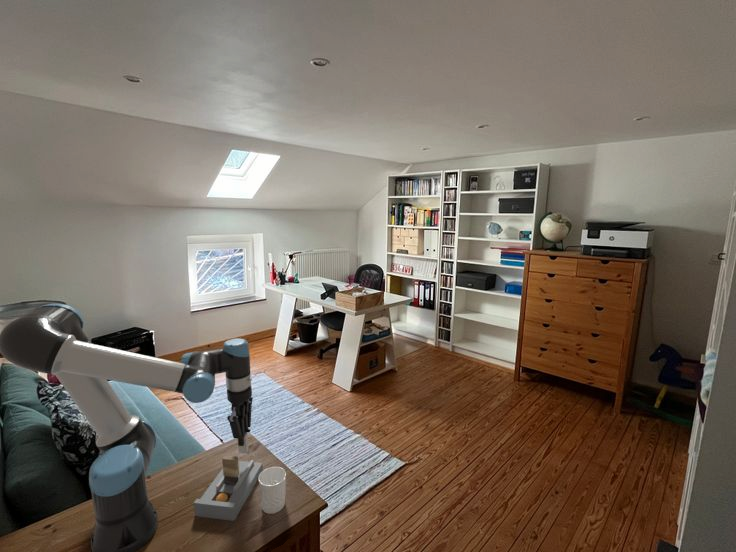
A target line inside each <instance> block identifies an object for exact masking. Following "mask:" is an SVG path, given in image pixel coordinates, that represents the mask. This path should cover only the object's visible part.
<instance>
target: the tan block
mask: <svg viewBox="0 0 736 552" xmlns="http://www.w3.org/2000/svg"><path fill="white" fill-rule="evenodd" d="M221 460H222V469H223V476H224V483H225V484H232V485H236V483H237V482H238V480H239V479H238V475H239V462H238V461H239V456H236V455H235V456H234V455H224V456H223V457H222V459H221Z"/></svg>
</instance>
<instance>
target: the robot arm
mask: <svg viewBox="0 0 736 552" xmlns="http://www.w3.org/2000/svg"><path fill="white" fill-rule="evenodd" d="M83 328H84V318H83V316H82V315H81V313H80V312H79V311H78V310H77V309H76V308H74V307H72V306H70V305H68V304H63V303H56V302H55V303H47V304H44V305H41V306H38V307H36V308H34V309H30V311H28V312H27V313H25V314H23V315H22V316H20V317H18V318H16V319H14V320H13V321H10V322H9V323H8V324H7V325H5V327H4V328H3V329H2V330H1V331H0V354H1V355H2V357H3V358H4V359H5V360H6V361H8V362H9V363H11V364H13V365H14V366H17V367H19V368H23V369H26V370H29V371H32V372H37V373H41V374H48V375H53V376H56V378H57V380H58V381H59V382H60V384H61V385H62V387H63V388H64V389H65V391H66V392H67V394H68V395H69V397H70V398H71V399H72V400H73V402H74V404H75V405H76V406H77V408H78V409H79V410H80V412H81V414H82V415H83V416H84V417H85V419H86V420H87V422H88V423H89V425H90V426H91V427H92V429H93V430H94V432H95V433H96V434H97V436H98V437H97V439H96V441H95V445H96V447H97V448H98V450H99V451H100V452H101V455H99V456H97V458H96V459H95V460H94V461H93V462H92V464H91V465H90V467H89V473H88V485H89V488H90V493H91V499H92V505H93V511H94V516H95V523H94V527H93V531H92V535H91V538H90V548H91V552H136V551H138V550H139V549H140V548H142V547H143V546H144V545H146V544H147V543H148V542H149V541H150V539H151V538H152V537H154V534H155V533H156V531H157V529H158V526H159V518H158V512H157V510H156V509H155V508H154V506H153V504H152V503H151V501H150V500H149V497H148V489H147V482H146V481H147V480H146V475H147V473H148V468H149V467H150V464H151V463H150V462H151V461H152V457H153V453H154V450H155V447H156V444H157V443H156V442H157V434H156V433H157V432H156V430H155V427H154V426H153V425H152V424H150V422H148V421H146V420H145V421H143V420H141V418H140V417H139V416H138V415H135V414H134V415H133V414H132V415H131V414H130V413H129V412H128V410H127V408H126V407H125V405H124V404H123V402H122V401H121V399H120V398H119V396H118V395H117V393H116V392H115V390H114V389H113V387H112V385H111V384H110V383H109V381H113V382H117V383H118V382H119V383H123V384H128V385H129V384H130V385H136V386H140V387H146V388H152V389H155V390H163V391H167V392H174V393H177V394H182V395H183V397H184V399H186V400H187V401H188V402H190V403H192V404H199V403H204V402H205V401H207V400H208V399H209V398H210V397H211V396H212V395H213V393H214V389H215V387H216V376H215V375H218V374H223V373H225V386H226V398H227V401H228V402H229V403H230V404H231V409H230V410H231V414H230V415H227V421H228V422H229V426H230V429H231V433H232V438H233V439H237V445H238V446H237V447H238V453H239V454H246V455H247V454H248V453H249V439H248V437H249V436H248V433H251V430H252V429H249V428H250V427H251V426H252V425H251V424H252V409H253V408H252V405H253V400H254V398H253V389H252V377H251V376H252V375H251V355H250V348H249V347H250V346H249V342H248V340H246V339H244V338H232V339H228V340H225V342H223V346H222V347H221V348H217V349H207V350H200V351H192V352H191V351H190V352H186V353H184V354H183V355H182V356H181V358H180V362H178V361H174V360H173V361H172V360H168V359H165V358H164V359H163V358H160V357H155V356H151V355H145V354H141V353H137V352H131V351H128V350H122V349H118V348H114V347H110V346H104V345H99V344H95V343H91V342H90V339H89V338H88V337H87V335H86V334H85V332H84V331H83Z"/></svg>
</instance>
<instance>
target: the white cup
mask: <svg viewBox="0 0 736 552" xmlns="http://www.w3.org/2000/svg"><path fill="white" fill-rule="evenodd" d="M286 480H287V473H286V470H285V469H284V468H282V467H280V466H270V467H267V468H265V469H263V471H262V472H261V473H260V475H259V478H258V480H257V481H258V488H259V489H258V490H259V496H260V503H261V509H262V511H263V512H264V513H266V514H267V515H268V514H269V515H270V514H276V513H279V512H280V511H281V510H282V509H284V508H285V507H284V506H285V505H286V494H287V493H286V491H287V490H286V489H287V485H286V484H287V481H286Z"/></svg>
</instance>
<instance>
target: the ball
mask: <svg viewBox="0 0 736 552" xmlns="http://www.w3.org/2000/svg"><path fill="white" fill-rule="evenodd" d="M216 501H221V502H228V496H227V495H226V494H225V493H221V494H219V495H218V496H217V497H216Z"/></svg>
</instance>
